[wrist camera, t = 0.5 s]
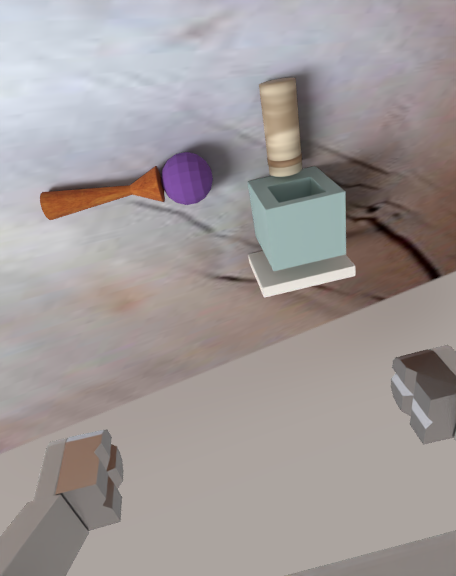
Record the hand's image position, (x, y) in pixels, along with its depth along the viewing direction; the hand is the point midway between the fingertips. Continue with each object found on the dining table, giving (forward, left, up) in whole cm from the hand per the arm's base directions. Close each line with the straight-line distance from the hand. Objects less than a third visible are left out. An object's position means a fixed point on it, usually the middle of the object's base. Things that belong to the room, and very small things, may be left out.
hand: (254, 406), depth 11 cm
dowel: (+3, +12, -43) cm, 44 cm away
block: (+13, +12, -43) cm, 46 cm away
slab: (+20, +12, -43) cm, 49 cm away
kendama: (+6, -7, -43) cm, 44 cm away
